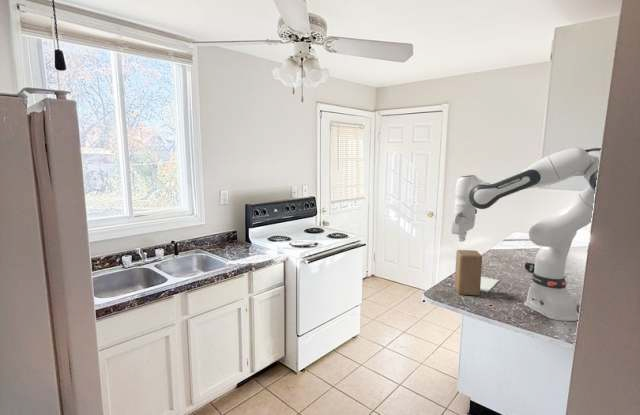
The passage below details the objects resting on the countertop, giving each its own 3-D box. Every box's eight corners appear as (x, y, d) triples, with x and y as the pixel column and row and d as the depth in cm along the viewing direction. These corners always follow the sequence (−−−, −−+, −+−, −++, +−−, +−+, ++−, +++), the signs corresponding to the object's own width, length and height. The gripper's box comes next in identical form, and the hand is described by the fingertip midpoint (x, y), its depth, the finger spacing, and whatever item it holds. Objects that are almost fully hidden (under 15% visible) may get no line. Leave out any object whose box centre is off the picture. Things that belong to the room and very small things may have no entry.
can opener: (522, 271, 198) (523, 262, 198) (525, 269, 204) (526, 260, 203) (559, 278, 187) (560, 269, 186) (561, 275, 192) (562, 266, 191)
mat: (487, 292, 166) (487, 291, 166) (454, 284, 176) (454, 284, 176) (498, 280, 182) (499, 280, 182) (468, 274, 193) (468, 273, 193)
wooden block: (480, 296, 161) (482, 256, 158) (458, 294, 163) (460, 255, 160) (475, 288, 170) (477, 250, 167) (454, 286, 172) (456, 249, 169)
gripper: (463, 214, 142) (461, 246, 144) (478, 209, 157) (476, 238, 159) (448, 212, 146) (446, 243, 148) (464, 208, 161) (462, 236, 163)
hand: (462, 241), depth 154 cm, fingers closed
